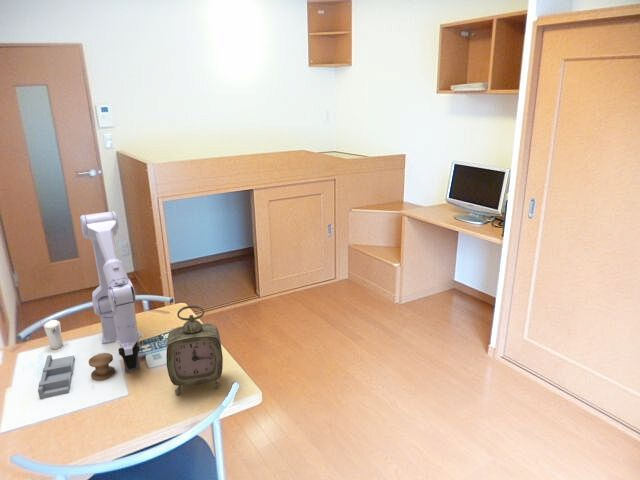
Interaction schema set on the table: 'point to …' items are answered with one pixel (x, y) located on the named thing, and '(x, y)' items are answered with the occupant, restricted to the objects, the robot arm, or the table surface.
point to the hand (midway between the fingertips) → (131, 363)
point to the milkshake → (53, 333)
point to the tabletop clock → (194, 352)
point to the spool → (102, 366)
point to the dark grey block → (132, 368)
